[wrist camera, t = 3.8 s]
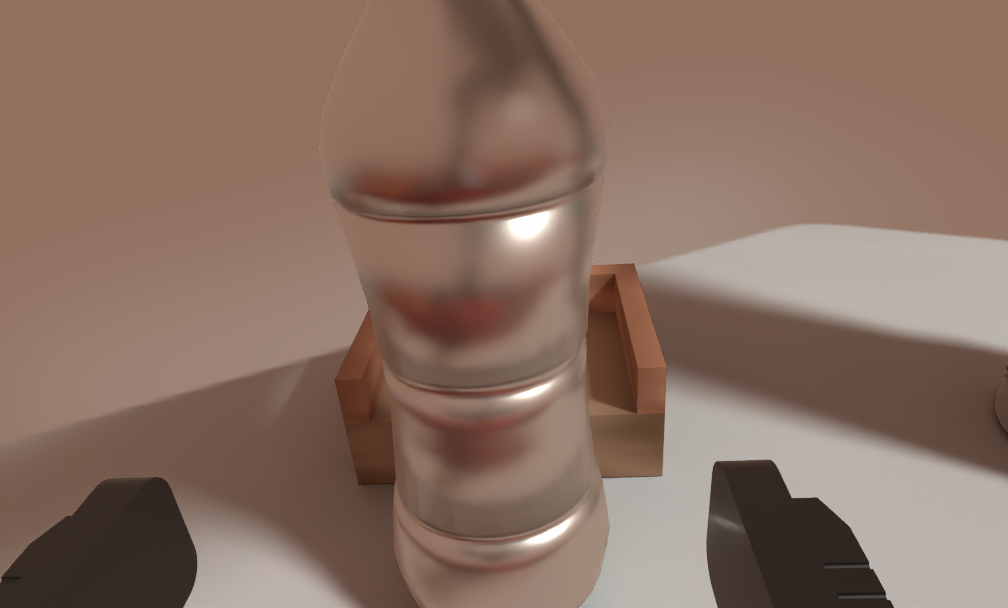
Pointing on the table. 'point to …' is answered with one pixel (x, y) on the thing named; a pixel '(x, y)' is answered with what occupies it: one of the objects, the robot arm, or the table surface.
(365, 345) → the dock
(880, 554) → the table surface
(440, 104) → the plastic bottle
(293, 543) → the table surface
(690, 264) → the table surface
